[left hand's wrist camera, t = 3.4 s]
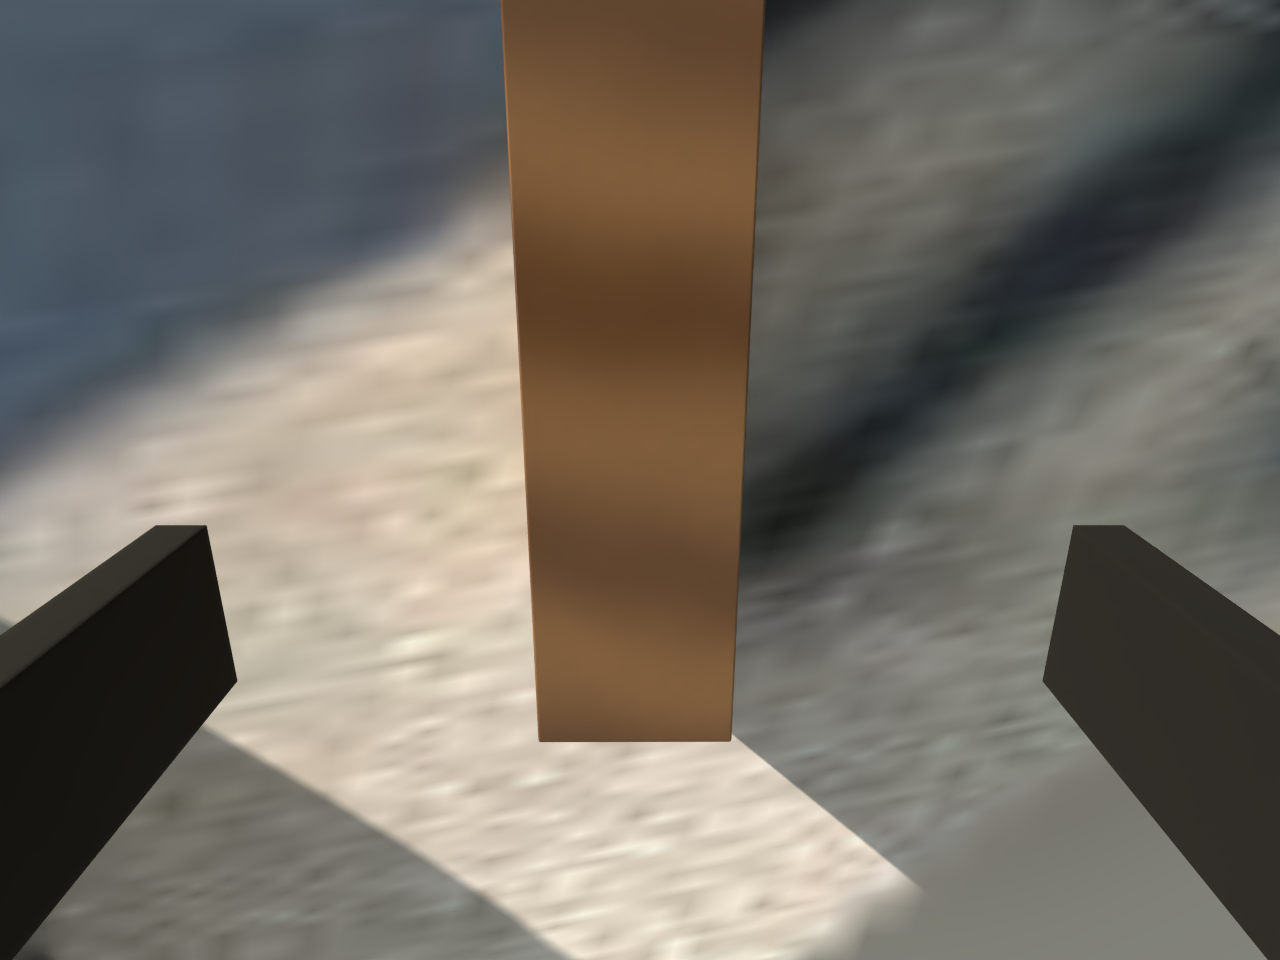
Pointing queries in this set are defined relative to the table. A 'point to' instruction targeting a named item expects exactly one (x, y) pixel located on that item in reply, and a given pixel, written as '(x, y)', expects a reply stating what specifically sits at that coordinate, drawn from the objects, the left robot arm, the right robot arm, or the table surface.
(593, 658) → the post
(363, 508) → the table surface
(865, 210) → the table surface
